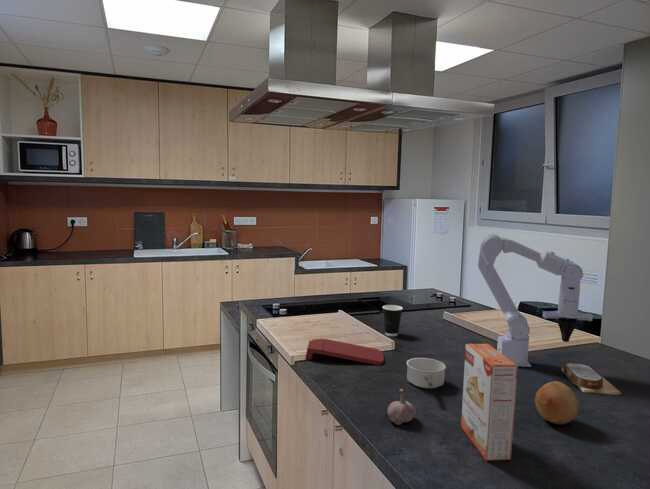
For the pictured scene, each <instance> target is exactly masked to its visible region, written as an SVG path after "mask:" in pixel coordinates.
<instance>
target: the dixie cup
mask: <svg viewBox="0 0 650 489" xmlns="http://www.w3.org/2000/svg"><path fill="white" fill-rule="evenodd" d="M403 308H404V307H402V306H401V305H395V304H385V305H383V306H382V310H383V313H382V314H383V327H384V333H385V334H384V335H386V336H387V337H398V335H399V334H398V333H399V329H400V325H401V318H402V312H403Z"/></svg>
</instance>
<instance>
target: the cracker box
mask: <svg viewBox="0 0 650 489" xmlns="http://www.w3.org/2000/svg"><path fill="white" fill-rule="evenodd" d="M518 368H519V366H517V365H516V364H514V363H513V362H512V361H510V360H509V359H508V358H506V357H505V356H504V355H502V354H501V353H500V352H498V351H497V348H494V347H493V346H492V345H491V344H489V343H466V344H465V352H464V370H463V371H464V372H463V385H462V386H463V388H462V404H461V406H462V407H461V422H460V428H461V429H462V430H463V432H464V433H465V434H466V435H467V437H468V438H469V440H470V441H471V443H472V444H473V445H474V446H475V448H476V449H477V451H478V452H479V453H480V454H481V456H482V457H483V459H484V461H486V462H489V461H511V460H512V450H513V437H514V436H513V435H514V421H515V409H516V408H515V407H516V395H517V381H518Z"/></svg>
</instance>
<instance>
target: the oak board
mask: <svg viewBox="0 0 650 489" xmlns="http://www.w3.org/2000/svg"><path fill="white" fill-rule="evenodd" d="M560 370H561V372H562V373H563V374H564V367H561V369H560ZM599 375H600V376H601V377H602V378H603V387H602V388H601V389H588V388H584V387H580V386H577V387H578V388H579V389H580V391H582V392H583V393H589V394H590V393H591V394H600V395H601V394H602V395H616V396H622V391H620V390H619V389H618V388H617V387H615V386H614V385H613V384H612V383H610V382H609V381H608V380H606V378H604V377H603V376H602V375H601V374H599Z"/></svg>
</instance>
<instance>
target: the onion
mask: <svg viewBox="0 0 650 489" xmlns="http://www.w3.org/2000/svg"><path fill="white" fill-rule="evenodd" d="M534 403H535V407H536V410H537V412H538V414H539V415H541V417H542V418H544V420H546V421H548V422H549V423H552V424H555V425H565V424H569V423H570V422H572V421H573V420H574V419H575V418H576V417H577V415H578V414H579V411H580V407H581V406H580V403H579V400H578V397H577V395H576V394H575V392H574V391H573V390H572V389H571V388H570V387H569V386H568V385H567V384H565V383H563V382H561V381H557V380H555V381H549V382H547V383H545V384H544V385H541V387H540V388H538V390H537V391H536V393H535V397H534Z"/></svg>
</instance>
